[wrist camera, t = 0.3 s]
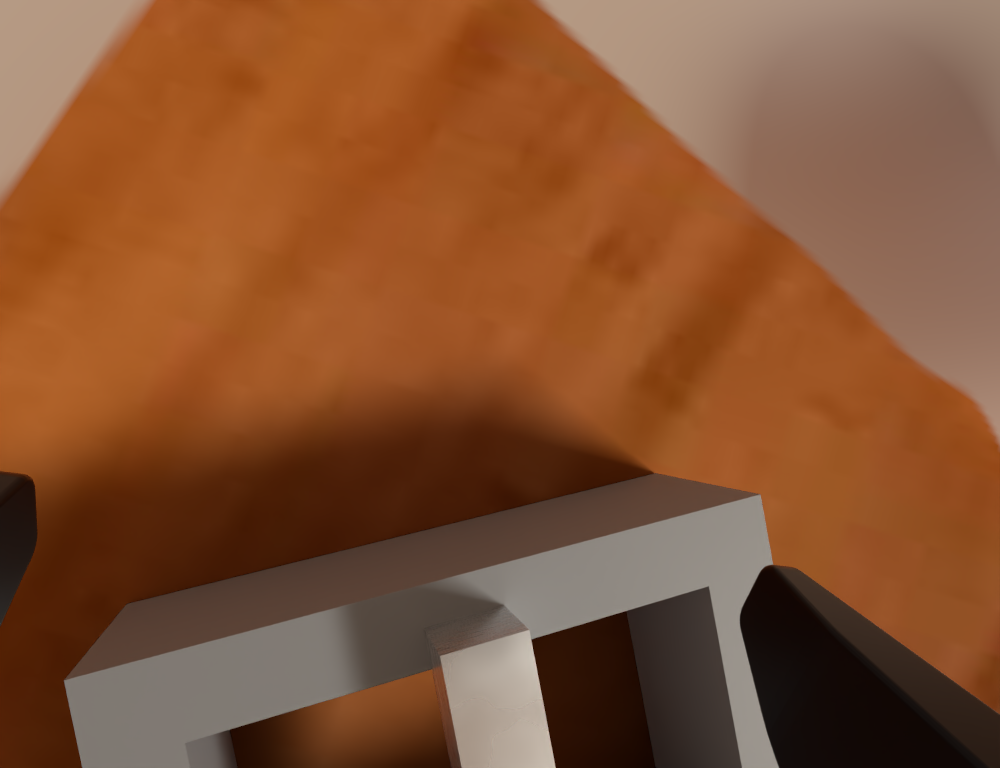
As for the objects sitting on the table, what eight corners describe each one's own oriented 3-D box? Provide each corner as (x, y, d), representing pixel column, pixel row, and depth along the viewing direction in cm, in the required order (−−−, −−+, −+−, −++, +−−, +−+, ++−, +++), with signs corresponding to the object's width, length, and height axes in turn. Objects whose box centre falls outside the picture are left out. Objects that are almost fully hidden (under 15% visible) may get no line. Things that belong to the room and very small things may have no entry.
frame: (717, 806, 26) (837, 922, 20) (210, 1005, 22) (179, 1226, 16) (655, 473, 26) (760, 494, 20) (126, 603, 21) (63, 680, 15)
